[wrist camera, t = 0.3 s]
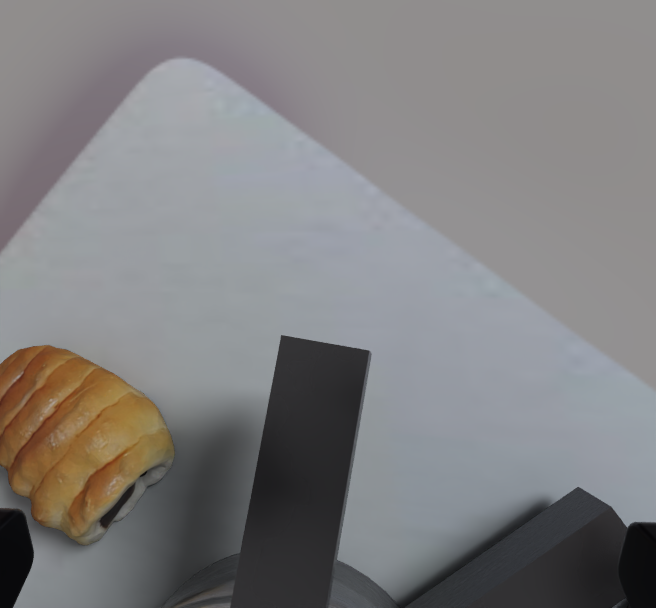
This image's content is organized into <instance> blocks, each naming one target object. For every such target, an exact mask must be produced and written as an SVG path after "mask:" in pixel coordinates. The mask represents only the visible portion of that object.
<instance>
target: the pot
mask: <svg viewBox="0 0 656 608" xmlns="http://www.w3.org/2000/svg"><path fill="white" fill-rule="evenodd" d="M626 530H627V527H626V526H625V524H624V523H623V522H622V520H621V519H620V518H619V516H618V515H617V514H616V512H615V511H614V510H613V508H612V507H611V506H609V505H607V504H606V503H604V502H602V501H601V500H599V499H597V498H596V497H594V496H593V495H591V494H589V493H588V492H586V491H584V490H583V489H581V488H579V487H577V488H576V489H574V490H573V491H571V492H570V493H569V494H567V495H566V496H564V497H563V498H561V499H560V500H558V501H557V502H556V503H554V504H553V505H551V506H550V507H548V508H547V509H545V510H544V511H543V512H541V513H540V514H538V515H537V516H535V517H534V518H533V519H531V520H530V521H528V522H527V523H525V524H524V525H522V526H521V527H520V528H518V529H517V530H515V531H514V532H512V533H511V534H510V535H508V536H507V537H505V538H504V539H502V540H501V541H499V542H498V543H497V544H495V545H494V546H492V547H491V548H489V549H488V550H486V551H485V552H484V553H482V554H481V555H479V556H478V557H476V558H475V559H474V560H472V561H471V562H469V563H468V564H466V565H465V566H463V567H462V568H461V569H459V570H458V571H456V572H455V573H453V574H452V575H451V576H449V577H448V578H446V579H445V580H443V581H442V582H440V583H439V584H438V585H436V586H435V587H433V588H432V589H430V590H429V591H427V592H426V593H425V594H423V595H422V596H420V597H419V598H417V599H416V600H415V601H413V602H412V603H410V604H409V605H407V606H406V607H404V608H612V607H613V606H615V605H616V604H617V603H619V602H620V601H622V600H623V599H625V598H626V596H625V594H624V591H623V589H622V586H621V583H620V580H619V576H618V561H619V557H620V554H621V550H622V546H623V542H624V538H625V534H626ZM239 558H240V553H239V554H236V555H232V556H230V557H227V558H225V559H223V560H220V561H218V562H216V563H213V564H212V565H210V566H208V567H207V568H205V569H203V570H202V571H200V572H198V573H197V574H196V575H194V576H193V577H192V578H191V579H189V580H188V581H187V582H186V583H184V584H183V585H182V586H181V587H180V588H179V589H178V590H177V591H176V592H175V593H174V594H173V595H172V596H171V597H170V598H169V599H168V601H167V602H166V603H165V604H164V605H163V606H162V607H161V608H180V607H182V606H184V605H187V604H190V603H194V602H197V601H201V600H205V599H209V598H212V597H221V596H229V595H233V589H234V584H235V579H236V573H237V568H238V563H239ZM329 608H401V607H400V606H399V605H398V604H397V603H396V602H395V601H394V600H393V599H392V598H391V597H390V596H389V594H388V593H387V592H386V591H384V590H383V589H382V588H381V587H380V586H378V585H377V584H376V583H375V582H373V581H372V580H371V579H370V578H369V577H367V576H365V575H364V574H362V573H361V572H359V571H357V570H356V569H354V568H353V567H351V566H349V565H347V564H345V563H342V562H340V561H338V560H337V562H336V567H335V573H334V579H333V585H332V591H331V597H330V603H329Z"/></svg>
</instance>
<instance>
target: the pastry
mask: <svg viewBox="0 0 656 608" xmlns="http://www.w3.org/2000/svg"><path fill="white" fill-rule="evenodd" d="M174 455H175V450H174V445H173V441H172V438H171V435H170V432H169V430H168V428H167V426H166V424H165V422H164V419H163V417H162V415H161V413H160V411H159V409H158V408H157V407H156V405H155V404H154V403H153V402H152V401H151V400H150V399H149V398H148V397H146V396H145V394H144V393H142V392H140V391H138V390H137V389H135V388H133V387H132V386H131V385H129V384H128V383H126V382H125V381H123V380H122V379H121V378H120V377H118V376H117V375H115V374H114V373H112V372H109V371H108V370H106V369H104V368H102V367H100V366H98V365H96V364H94V363H92V362H91V361H89V360H86V359H84V358H83V357H81V356H79V355H77V354H75V353H73V352H71V351H68V350H65V349H60V348H55V347H52V346H50V345H44V346H33V347H29V348H24V349H20V350H18V351H16V352H15V353H13V354H12V355H11V356H9V357H8V358H7V359H5V360H4V361H3V362H2V363H1V364H0V465H1V466H3V467H4V468H5V469H6V470H7V471H8V479H9V484H10V486H11V488H12V490H13V491H14V492H15V493H16V494H19V495H21V496H25V497H27V498H29V499H30V500H31V504H32V508H31V514H32V517H33V518H34V520H36V521H37V522H38V523H39V524H40V525H42V526H45V527H50V528H55V529H58V530H61V531H63V532H65V533H66V534H67V536H68V537H69V538H71V539H74V540H76V541H77V542H78V543H79V544H81V545H89V544H92V543H94V542H97V541H99V540H100V539H101V538H102V537H103V535H104V534H105V533H106V531H107V530H108V528H109V527H110V525H111V524H112V522H113V521H120V520H122V519H123V518H124V517H125V516H126V515H127V514H128V513H129V512H130V511H131V510H132V509H133V508H134V506H135V504H136V503H137V501H138V500H139V499H140V498H141V496H142V495H143V493H144V491H145V489H146V488H147V486H149V485H152V484H155V483H156V482H158V481H159V480H161V479H162V478H163V476H164V475H165V474H166V472H167V471H168V470H169V469H170V468H171V466H172V463H173V459H174Z"/></svg>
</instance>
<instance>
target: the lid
mask: <svg viewBox="0 0 656 608" xmlns="http://www.w3.org/2000/svg"><path fill="white" fill-rule="evenodd" d="M371 355H372V354H371V352H370V351H368V350H362V349H357V348H351V347H345V346H340V345H334V344H328V343H323V342H317V341H311V340H306V339H300V338H294V337H289V336H283V335H281V340H280V346H279V351H278V356H277V361H276V367H275V372H274V377H273V383H272V388H271V393H270V399H269V404H268V409H267V414H266V420H265V425H264V430H263V436H262V441H261V446H260V452H259V457H258V462H257V467H256V473H255V478H254V483H253V489H252V494H251V499H250V505H249V510H248V515H247V520H246V526H245V531H244V536H243V542H242V547H241V552H240V558H239V563H238V568H237V573H236V579H235V584H234V589H233V595H229V596H221V597H212V598H209V599H205V600H201V601H197V602H194V603H190V604H187V605H184V606H182V607H180V608H329V603H330V597H331V591H332V585H333V579H334V573H335V567H336V562H337V556H338V550H339V544H340V538H341V532H342V526H343V520H344V514H345V508H346V502H347V497H348V491H349V485H350V479H351V473H352V467H353V461H354V455H355V449H356V443H357V437H358V432H359V426H360V420H361V414H362V408H363V402H364V396H365V390H366V384H367V378H368V372H369V366H370V361H371Z"/></svg>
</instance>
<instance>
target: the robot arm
mask: <svg viewBox="0 0 656 608" xmlns="http://www.w3.org/2000/svg"><path fill="white" fill-rule="evenodd" d="M33 558H34V550H33V545H32V541H31V537H30V533H29V529H28V524H27V520H26V516H25V514H24V513H23V511H22V510H19V509H9V508H0V608H13V606H14V604H15V602H16V600H17V598H18V596H19V593H20V591H21V589H22V587H23V585H24V582H25V580H26V578H27V576H28V574H29V572H30V569H31V566H32V563H33ZM618 576H619V580H620V583H621V586H622V589H623V591H624V594H625V596H626V599H627V601H628V604H629V606H630V608H656V522H634V523H631V524H630V525H629V526H628V528H627V530H626V534H625V538H624V542H623V546H622V550H621V554H620V557H619V561H618Z"/></svg>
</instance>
